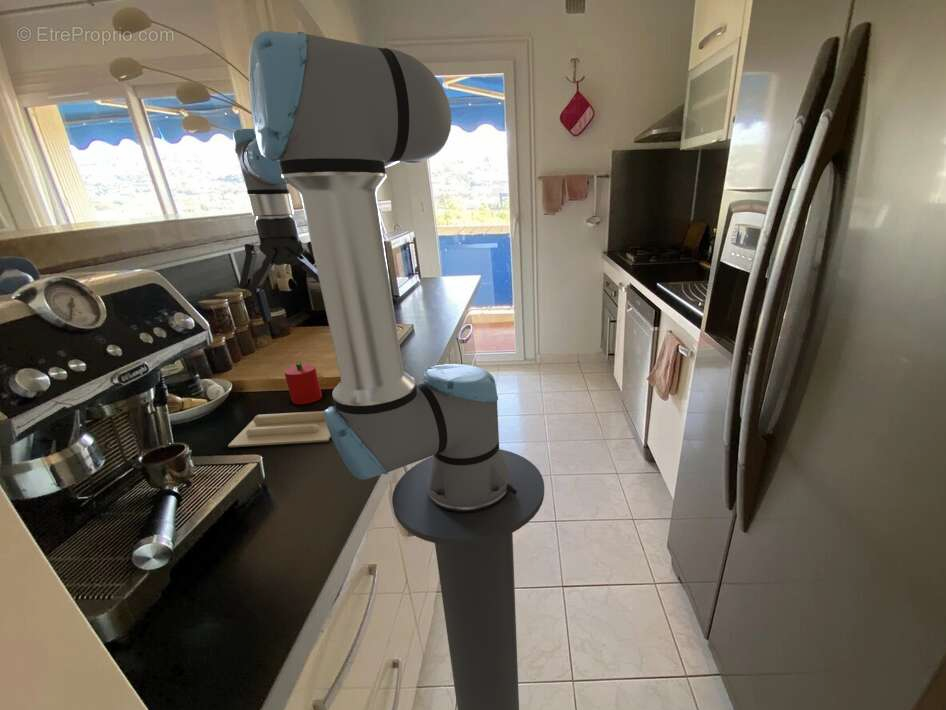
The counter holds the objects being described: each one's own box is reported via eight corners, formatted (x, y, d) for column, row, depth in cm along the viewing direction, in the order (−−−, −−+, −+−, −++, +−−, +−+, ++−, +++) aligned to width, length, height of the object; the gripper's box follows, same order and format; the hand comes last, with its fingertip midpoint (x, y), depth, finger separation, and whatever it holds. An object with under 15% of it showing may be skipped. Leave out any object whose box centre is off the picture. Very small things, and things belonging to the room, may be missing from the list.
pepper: (325, 392, 117) (317, 358, 113) (316, 403, 111) (308, 368, 107) (297, 393, 117) (289, 359, 112) (287, 405, 110) (277, 369, 106)
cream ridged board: (346, 411, 107) (344, 402, 106) (328, 441, 94) (325, 431, 93) (258, 416, 105) (255, 407, 104) (228, 447, 92) (224, 437, 91)
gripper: (342, 215, 96) (360, 312, 105) (220, 218, 94) (249, 317, 103) (331, 216, 89) (352, 320, 98) (199, 220, 87) (232, 326, 96)
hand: (299, 319), depth 100 cm, fingers open, 13 cm apart
